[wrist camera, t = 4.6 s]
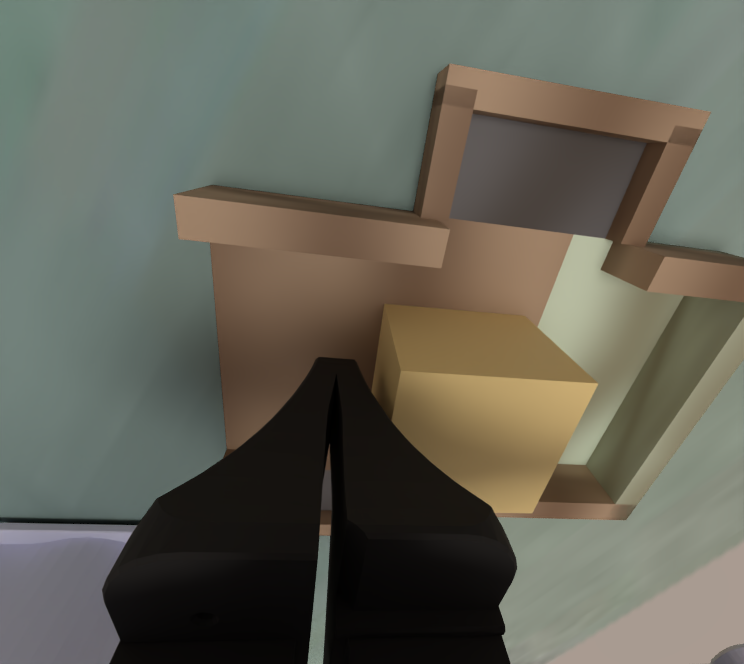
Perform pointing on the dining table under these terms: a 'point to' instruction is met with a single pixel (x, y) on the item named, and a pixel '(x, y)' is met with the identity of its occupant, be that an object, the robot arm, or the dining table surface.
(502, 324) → the block
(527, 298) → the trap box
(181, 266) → the dining table surface
